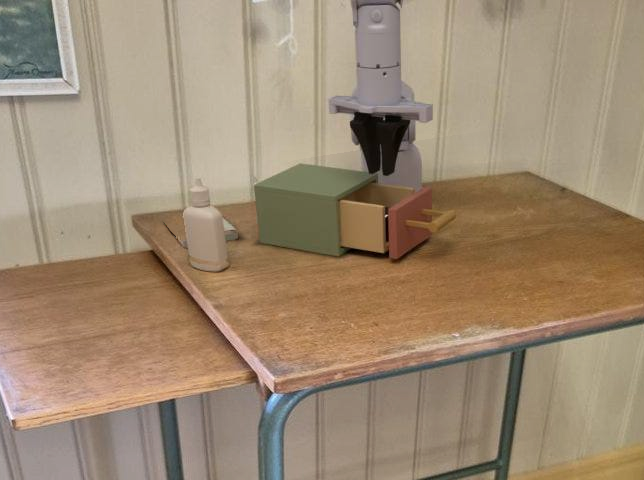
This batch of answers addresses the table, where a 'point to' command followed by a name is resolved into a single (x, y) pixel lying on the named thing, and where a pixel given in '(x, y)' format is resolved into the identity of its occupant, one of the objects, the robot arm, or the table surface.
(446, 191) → the table surface
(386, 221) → the clip
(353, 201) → the drawer
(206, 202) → the eye dropper bottle
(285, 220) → the cabinet
